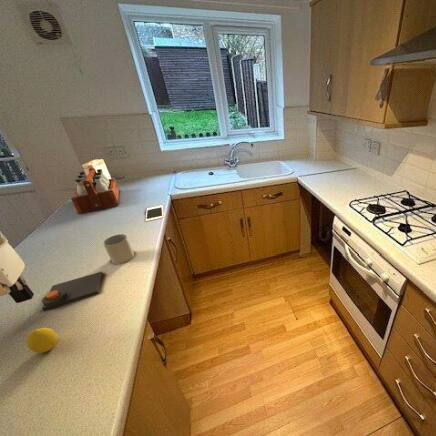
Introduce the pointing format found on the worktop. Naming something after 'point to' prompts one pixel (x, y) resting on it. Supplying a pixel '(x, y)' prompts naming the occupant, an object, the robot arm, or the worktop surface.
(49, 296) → the tare button
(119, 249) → the cup
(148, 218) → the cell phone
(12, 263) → the robot arm
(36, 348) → the lemon
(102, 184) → the milk bottle holder
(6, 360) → the worktop surface
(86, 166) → the coffeecake box
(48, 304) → the scale
